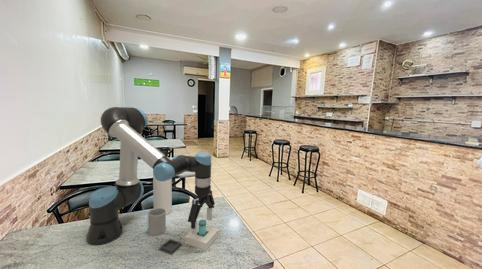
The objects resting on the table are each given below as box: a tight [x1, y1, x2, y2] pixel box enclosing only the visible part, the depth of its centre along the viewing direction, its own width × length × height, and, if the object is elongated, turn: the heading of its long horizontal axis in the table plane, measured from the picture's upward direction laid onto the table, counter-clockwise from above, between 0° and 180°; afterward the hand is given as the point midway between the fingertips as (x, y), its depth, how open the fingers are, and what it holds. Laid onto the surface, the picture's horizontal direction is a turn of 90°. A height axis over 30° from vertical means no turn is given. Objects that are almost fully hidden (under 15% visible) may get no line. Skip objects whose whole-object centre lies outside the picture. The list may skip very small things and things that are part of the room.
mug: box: [147, 208, 167, 236], centre depth 107 cm, size 12×8×11 cm
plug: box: [198, 219, 207, 237], centre depth 100 cm, size 4×4×10 cm
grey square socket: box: [157, 238, 184, 256], centre depth 94 cm, size 8×8×2 cm
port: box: [184, 223, 220, 251], centre depth 100 cm, size 12×12×4 cm
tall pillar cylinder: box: [152, 174, 173, 216], centre depth 126 cm, size 11×11×25 cm
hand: (202, 226), depth 100 cm, fingers open, 13 cm apart
